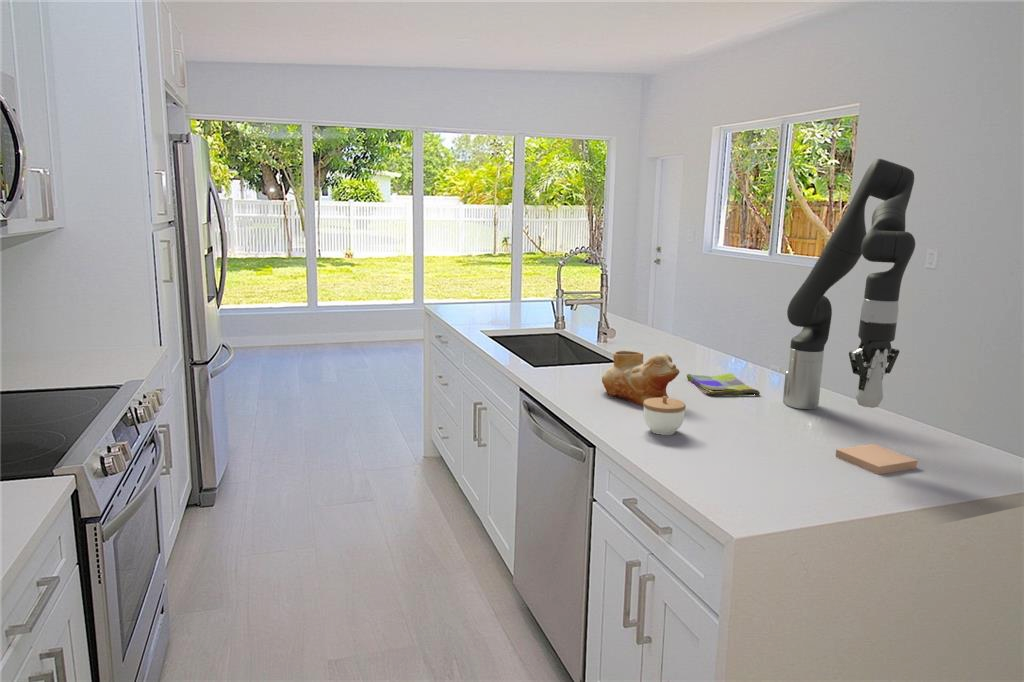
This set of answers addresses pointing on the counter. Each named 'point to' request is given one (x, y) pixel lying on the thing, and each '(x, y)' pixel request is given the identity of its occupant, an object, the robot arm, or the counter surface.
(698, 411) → the counter surface
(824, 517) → the counter surface
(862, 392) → the salt shaker
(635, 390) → the ceramic vessel
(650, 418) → the lidded jar
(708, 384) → the dish towel
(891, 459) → the tile
